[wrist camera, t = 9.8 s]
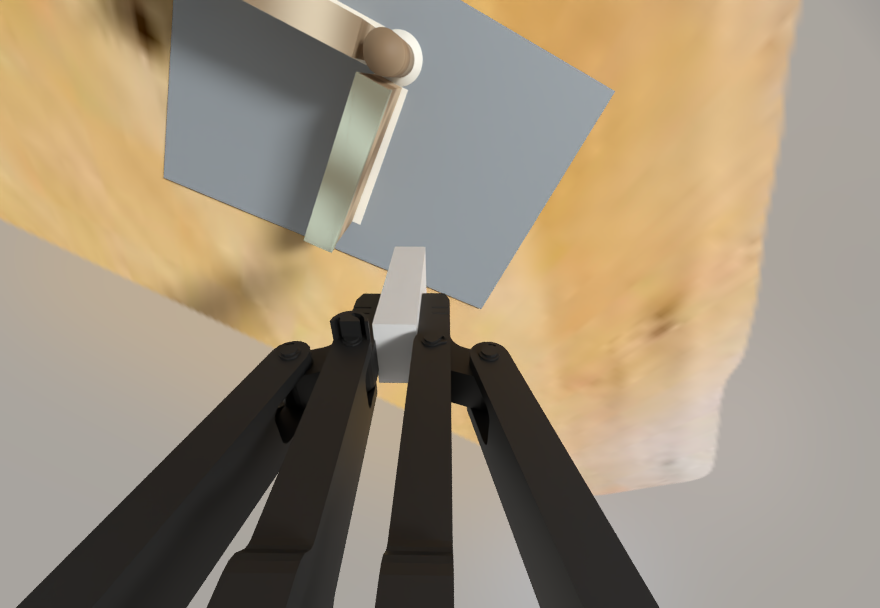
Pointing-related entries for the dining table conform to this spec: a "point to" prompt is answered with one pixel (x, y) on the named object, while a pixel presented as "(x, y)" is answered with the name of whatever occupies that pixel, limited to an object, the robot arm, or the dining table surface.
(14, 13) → the dining table surface
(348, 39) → the beige wooden panel
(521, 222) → the card
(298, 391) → the robot arm
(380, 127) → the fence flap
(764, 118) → the dining table surface
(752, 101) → the dining table surface
